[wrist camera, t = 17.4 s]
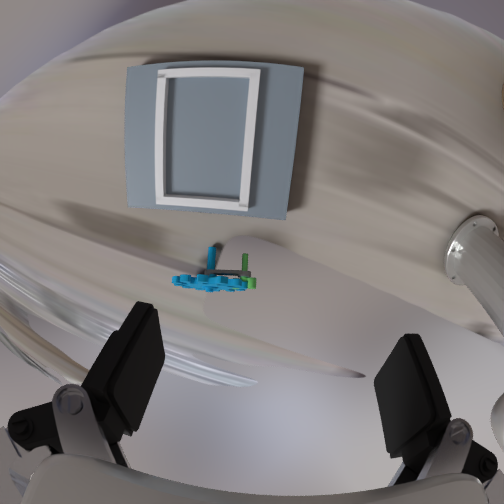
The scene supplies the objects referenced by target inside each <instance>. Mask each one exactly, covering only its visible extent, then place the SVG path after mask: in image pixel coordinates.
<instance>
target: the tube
mask: <svg viewBox="0 0 504 504" xmlns="http://www.w3.org/2000/svg"><path fill="white" fill-rule="evenodd" d="M502 103H503V109H504V84H503V89H502Z"/></svg>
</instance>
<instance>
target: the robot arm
mask: <svg viewBox="0 0 504 504" xmlns="http://www.w3.org/2000/svg"><path fill="white" fill-rule="evenodd" d="M444 269H445V273H446V275H447V277H448V278H449V279H450V281H451V282H453V283H454V284H456V285H466V286H467V287H468V288H469V290H470V291H471V292H472V293H473V295H474V296H475V297H476V299H477V300H478V301H479V302H480V304H481V305H482V306H483V308H484V309H485V311H486V312H487V313H488V315H489V316H490V318H491V319H492V320H493V322H494V323H495V325H496V326H497V328H498V329H499V331H500V332H501V334H502V335H503V336H504V241H503V240H502V239H501V238H499V232H498V228H497V226H496V224H495V223H494V222H493V221H492V220H491V219H490V218H488V217H487V216H484V215H477V216H473V217H471V218H469V219H467V220H466V221H465V222H464V223H462V224H461V225H460V227H459V228H458V229H457V230H456V231H455V233H454V234H453V236H452V238H451V239H450V241H449V244H448V246H447V248H446V252H445V257H444ZM164 360H165V352H164V346H163V341H162V335H161V330H160V323H159V317H158V311H157V309H154V307H153V305H152V304H149V303H144V302H139V301H138V302H136V303H135V305H134V307H133V308H132V310H131V311H130V313H129V314H128V316H127V318H126V319H125V321H124V322H123V324H122V326H121V327H120V329H119V331H118V330H116V331H114V332H113V333H112V334H111V335H110V337H109V339H108V340H107V342H106V344H105V345H104V347H103V349H102V350H101V352H100V354H99V355H98V357H97V359H96V361H95V362H94V364H93V365H92V367H91V369H90V371H89V372H88V374H87V376H86V378H85V380H84V381H83V383H82V385H81V386H79V385H75V384H66V385H64V386H61V387H60V388H59V389H58V390H57V391H56V392H55V394H54V396H53V399H52V402H49V403H45V404H42V405H39V406H35V407H32V408H28V409H25V410H21V411H18V412H16V413H14V414H13V415H12V416H11V418H10V419H9V422H8V427H7V428H5V427H2V428H0V504H504V474H503V473H502V471H501V470H500V469H499V470H497V468H498V462H497V458H496V457H495V455H494V454H493V453H492V452H490V451H489V450H487V449H486V448H484V447H483V446H481V445H479V444H478V443H476V442H475V441H473V440H472V439H473V431H472V428H471V426H470V425H469V423H468V422H467V421H465V420H463V419H461V418H456V419H453V420H452V421H451V420H450V418H451V413H450V410H449V407H448V404H447V401H446V398H445V395H444V392H443V390H442V387H441V384H440V382H439V379H438V377H437V374H436V372H435V369H434V367H433V364H432V362H431V359H430V357H429V355H428V352H427V350H426V348H425V345H424V343H423V341H422V339H421V337H420V335H419V334H405V335H404V336H403V337H401V338H400V339H399V340H398V342H397V344H396V346H395V347H394V349H393V350H392V352H391V354H390V355H389V357H388V358H387V360H386V362H385V363H384V365H383V366H382V368H381V369H380V371H379V372H378V374H377V375H376V377H375V379H374V387H375V392H376V396H377V401H378V405H379V411H380V416H381V421H382V427H383V432H384V438H385V444H386V450H387V452H388V453H390V457H391V458H397V457H402V458H403V462H402V464H401V466H400V467H399V469H398V471H397V472H396V474H395V476H394V477H393V479H392V481H391V482H390V483H389V485H388V487H385V488H379V489H374V490H368V491H360V492H353V493H344V494H333V495H317V496H272V495H256V494H245V493H236V492H228V491H221V490H215V489H208V488H203V487H198V486H193V485H188V484H184V483H180V482H176V481H171V480H168V479H164V478H160V477H156V476H153V475H149V474H146V473H143V472H140V471H136V470H133V469H131V467H130V465H129V463H128V460H127V458H126V456H125V454H124V452H123V449H122V447H121V445H120V442H119V441H120V440H121V438H122V435H123V434H125V435H128V436H132V433H133V431H135V432H136V431H137V430H138V429H139V426H140V423H141V421H142V418H143V415H144V413H145V410H146V407H147V405H148V402H149V399H150V397H151V394H152V392H153V389H154V386H155V384H156V381H157V379H158V376H159V374H160V371H161V369H162V366H163V364H164ZM491 427H492V430H493V433H494V436H495V438H496V440H497V442H498V443H499V445H500V447H501V448H502V450H503V451H504V393H503V394H502V395H501V396H500V397H499V399H498V400H497V401H496V403H495V405H494V406H493V409H492V412H491ZM33 472H34V474H33ZM32 474H33V475H32ZM31 475H32V478H31V480H30V476H31Z"/></svg>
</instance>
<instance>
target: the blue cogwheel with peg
mask: <svg viewBox="0 0 504 504" xmlns="http://www.w3.org/2000/svg"><path fill="white" fill-rule="evenodd" d="M215 257H216V248H215V247H209V250H208V263H207V269H206V270H205V272H204V275H202V274H197V277H191V275H180V276H173V277H172V283H174V285H175V286H182V287H183V288H195V289H196V290H206V292H213V291H220V290H226V291H230V292H232V291H233V292H234V291H235V290H237V291H245V289H247V288H249V289H256V278H250V277H251V272H250V271H247V268H248V254H243V256H242V271H239V270H215ZM217 275H233V276H234V275H235V276H238V277H240V279H239V278H233V279H228V277H224V276H217Z"/></svg>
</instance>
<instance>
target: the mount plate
mask: <svg viewBox="0 0 504 504" xmlns="http://www.w3.org/2000/svg"><path fill="white" fill-rule="evenodd" d="M303 74H304V67H298V66H290V65H282V64H273V63H262V62H247V61H182V62H168V63H157V64H148V65H140V66H132V67H127V79H126V96H125V169H126V187H127V200H128V207H135V208H151V209H166V210H180V211H193V212H205V213H217V214H228V215H239V216H249V217H259V218H269V219H278V220H286V213H287V206H288V199H289V192H290V184H291V177H292V169H293V162H294V154H295V146H296V137H297V129H298V121H299V112H300V103H301V93H302V84H303Z"/></svg>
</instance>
